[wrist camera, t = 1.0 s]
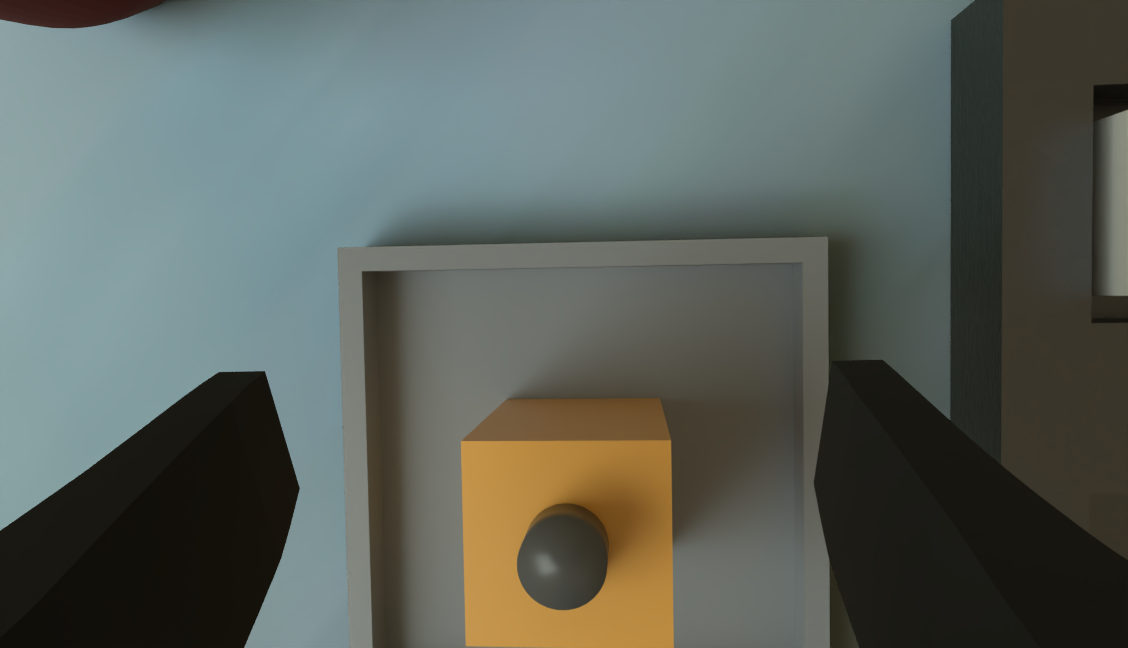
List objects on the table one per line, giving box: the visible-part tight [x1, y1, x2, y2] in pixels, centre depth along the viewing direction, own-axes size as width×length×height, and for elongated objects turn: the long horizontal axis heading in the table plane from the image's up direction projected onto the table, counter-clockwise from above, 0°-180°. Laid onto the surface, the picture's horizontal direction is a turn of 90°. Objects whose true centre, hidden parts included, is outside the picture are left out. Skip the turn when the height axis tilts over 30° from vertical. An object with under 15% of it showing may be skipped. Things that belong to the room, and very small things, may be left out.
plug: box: [461, 398, 674, 648], centre depth 18 cm, size 4×4×7 cm
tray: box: [338, 237, 830, 648], centre depth 22 cm, size 12×12×2 cm
